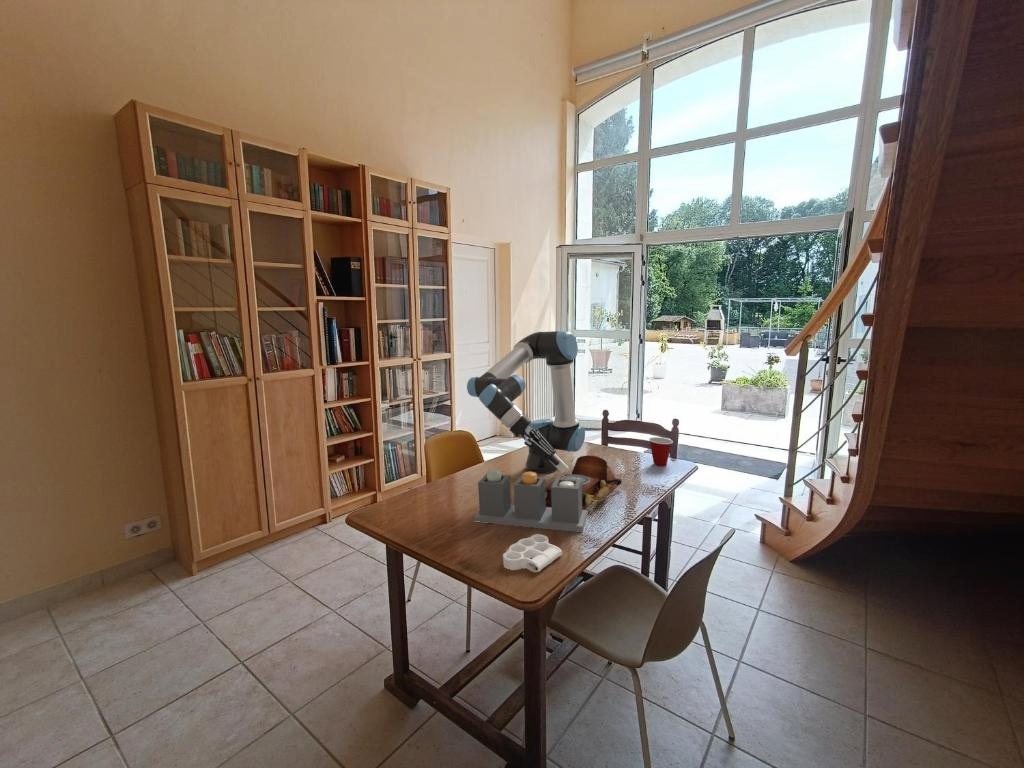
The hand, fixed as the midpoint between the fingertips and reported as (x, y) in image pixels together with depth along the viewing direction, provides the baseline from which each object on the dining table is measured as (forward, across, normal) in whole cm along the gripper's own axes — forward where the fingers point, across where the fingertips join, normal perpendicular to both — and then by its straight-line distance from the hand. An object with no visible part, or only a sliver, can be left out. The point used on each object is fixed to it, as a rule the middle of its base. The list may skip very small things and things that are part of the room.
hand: (565, 470), depth 156 cm
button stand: (+4, 0, -22) cm, 23 cm away
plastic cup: (+37, -69, +9) cm, 79 cm away
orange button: (-5, 0, -13) cm, 14 cm away
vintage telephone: (+16, -27, -12) cm, 34 cm away
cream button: (+6, 0, -6) cm, 9 cm away
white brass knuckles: (+9, +26, -18) cm, 33 cm away
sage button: (-14, 0, -22) cm, 26 cm away
